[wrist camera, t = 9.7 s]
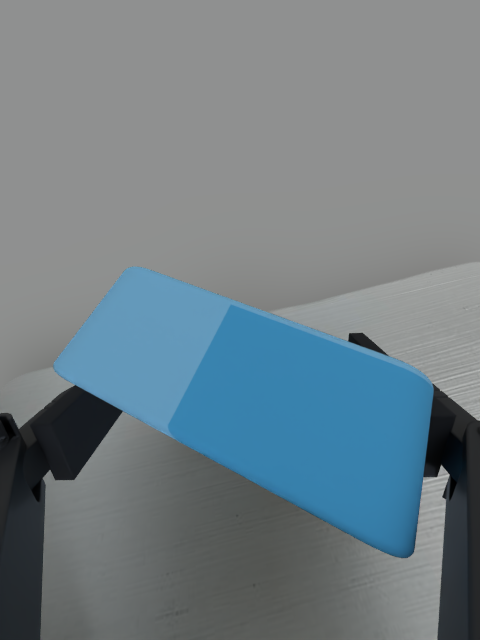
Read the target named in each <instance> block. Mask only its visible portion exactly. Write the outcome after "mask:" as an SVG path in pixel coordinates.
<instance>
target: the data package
mask: <svg viewBox="0 0 480 640" xmlns="http://www.w3.org/2000/svg"><path fill="white" fill-rule="evenodd" d="M53 367H54V370H55V372H56V373H57V374H58V375H60V376H61V377H62V378H64V379H66V380H67V381H69V382H71V383H73V384H74V385H76V386H78V387H80V388H82V389H84V390H85V391H87V392H89V393H91V394H93V395H95V396H96V397H98V398H100V399H102V400H104V401H106V402H107V403H109V404H111V405H113V406H115V407H117V408H118V409H120V410H122V411H124V412H126V413H128V414H129V415H131V416H133V417H135V418H137V419H139V420H140V421H142V422H144V423H146V424H148V425H150V426H151V427H153V428H155V429H157V430H159V431H160V432H162V433H164V434H166V435H168V436H170V437H171V438H173V439H175V440H177V441H179V442H181V443H182V444H184V445H186V446H188V447H190V448H192V449H193V450H195V451H197V452H199V453H201V454H203V455H204V456H206V457H208V458H210V459H212V460H214V461H215V462H217V463H219V464H221V465H223V466H225V467H226V468H228V469H230V470H232V471H234V472H236V473H237V474H239V475H241V476H243V477H245V478H247V479H248V480H250V481H252V482H254V483H256V484H257V485H259V486H261V487H263V488H265V489H267V490H268V491H270V492H272V493H274V494H276V495H278V496H279V497H281V498H283V499H285V500H287V501H289V502H290V503H292V504H294V505H296V506H298V507H300V508H301V509H303V510H305V511H307V512H309V513H311V514H312V515H314V516H316V517H318V518H320V519H322V520H323V521H325V522H327V523H329V524H331V525H333V526H334V527H336V528H338V529H340V530H342V531H343V532H345V533H347V534H349V535H351V536H353V537H354V538H356V539H358V540H360V541H362V542H364V543H366V544H368V545H370V546H372V547H374V548H376V549H378V550H380V551H382V552H384V553H387V554H389V555H392V556H395V557H399V558H408V557H410V556H411V555H412V554H413V552H414V548H415V540H416V532H417V524H418V515H419V507H420V499H421V491H422V483H423V475H424V466H425V458H426V450H427V442H428V434H429V426H430V417H431V409H432V401H433V393H434V389H433V385H432V383H431V381H430V380H429V379H428V377H427V376H426V375H424V374H423V373H422V372H421V371H419V370H418V369H416V368H415V367H413V366H411V365H409V364H407V363H405V362H402V361H400V360H397V359H395V358H392V357H389V356H387V355H384V354H381V353H378V352H376V351H373V350H370V349H367V348H365V347H362V346H359V345H356V344H354V343H351V342H348V341H345V340H342V339H340V338H337V337H334V336H331V335H329V334H326V333H323V332H320V331H318V330H315V329H312V328H309V327H307V326H304V325H301V324H298V323H296V322H293V321H290V320H287V319H285V318H282V317H279V316H276V315H274V314H271V313H268V312H265V311H262V310H260V309H257V308H254V307H251V306H249V305H246V304H243V303H240V302H237V301H235V300H232V299H229V298H227V297H224V296H221V295H218V294H215V293H213V292H210V291H207V290H205V289H202V288H199V287H196V286H193V285H191V284H188V283H185V282H182V281H180V280H177V279H174V278H171V277H169V276H166V275H163V274H160V273H158V272H155V271H152V270H149V269H146V268H142V267H130V268H127V269H126V270H125V271H124V272H123V273H122V275H121V276H120V277H119V279H118V280H117V281H116V283H115V284H114V285H113V287H112V288H111V289H110V290H109V292H108V293H107V294H106V295H105V297H104V298H103V299H102V301H101V302H100V303H99V305H98V306H97V307H96V309H95V310H94V311H93V312H92V314H91V315H90V316H89V318H88V319H87V320H86V322H85V323H84V324H83V325H82V327H81V328H80V329H79V331H78V332H77V333H76V335H75V336H74V337H73V339H72V340H71V341H70V342H69V344H68V345H67V346H66V348H65V349H64V350H63V352H62V353H61V354H60V355H59V357H58V358H57V360H56V361H55V362H54V365H53Z"/></svg>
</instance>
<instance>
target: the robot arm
mask: <svg viewBox="0 0 480 640" xmlns="http://www.w3.org/2000/svg"><path fill="white" fill-rule="evenodd" d="M348 342H351V343H354V344H356V345H359V346H362V347H365V348H367V349H370V350H373V351H376V352H378V353H381V354H384V355H387V354H386V353H385V352H384V351H383V350H382V349H380V348H379V347H378V346H377V345H376V344H375V343H374V342H372V341H371V340H370V339H369V338H368V337H367V336H366V335H365V334H363V333H349V340H348ZM387 356H388V355H387ZM389 357H390V356H389ZM432 385H433V389H434V393H433V401H432V409H431V417H430V426H429V434H428V442H427V450H426V458H425V466H424V475H423V477H437V476H438V473H439V470H440V466H441V465H442V466H443V467H444V468H445V469H446V471H447V472H448V473H449V474H450V476H449V479H448V482H447V485H446V488H445V491H444V494H443V496H442V497H443V498H445V499H446V512H445V528H444V544H443V560H442V575H441V591H440V607H439V623H438V639H437V640H480V421H478V420H476V419H475V418H474V417H473V416H471V415H470V414H469V413H468V412H467V411H465V410H464V409H463V408H462V407H460V406H459V405H458V404H457V403H456V402H454V401H453V400H452V399H451V398H448V396H447V395H446V394H445V393H443V392H442V391H440V389H439V388H437V387H436V386H435V385H434V384H432ZM122 412H123V411H122V410H120V409H118V408H117V407H115V406H113V405H111V404H109V403H107V402H106V401H104V400H102V399H100V398H98V397H96V396H95V395H93V394H91V393H89V392H87V391H85V390H84V389H82V388H80V387H78V386H76V385H75V386H73V387H71V388H69V389H68V390H66V391H64V392H62V393H61V394H59V395H58V396H57V397H56V398H55V399H54V400H52V402H51V403H49V404H48V405H47V406H45V407H44V409H42V410H41V411H39V412H38V413H37V414H36V415H35V416H34V417H32V418H31V419H30V420H29V421H28V422H27V423H25V424H24V425H23V426H22V427H21V428H20V429H18V427H17V425H16V423H15V421H14V419H13V417H12V415H11V414H9V413H1V414H0V640H40V629H41V601H42V572H43V543H44V515H45V486H46V485H45V482H44V480H43V477H44V476H45V475H46V473H47V472H48V471H49V470H51V472H52V474H53V476H54V478H55V480H74V479H75V478H76V477H77V475H78V474H79V472H80V471H81V469H82V468H83V467H84V465H85V464H86V462H87V461H88V460H89V458H90V457H91V455H92V454H93V453H94V451H95V450H96V448H97V447H98V445H99V444H100V443H101V441H102V440H103V438H104V437H105V436H106V434H107V433H108V431H109V430H110V429H111V427H112V426H113V424H114V423H115V421H116V420H117V419H118V417H119V416H120V414H121V413H122Z"/></svg>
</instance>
